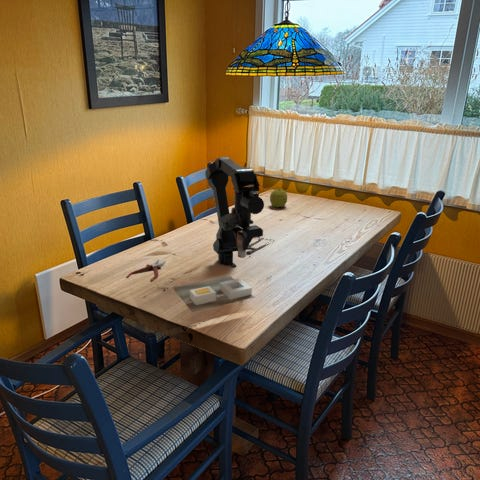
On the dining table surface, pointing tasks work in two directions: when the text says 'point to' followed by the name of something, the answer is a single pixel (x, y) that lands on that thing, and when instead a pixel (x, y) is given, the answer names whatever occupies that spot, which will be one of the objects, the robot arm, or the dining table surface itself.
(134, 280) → the dining table surface
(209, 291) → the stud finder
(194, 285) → the board
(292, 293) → the dining table surface
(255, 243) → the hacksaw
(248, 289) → the pilot socket
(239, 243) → the brown wooden peg
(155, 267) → the pliers
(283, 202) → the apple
